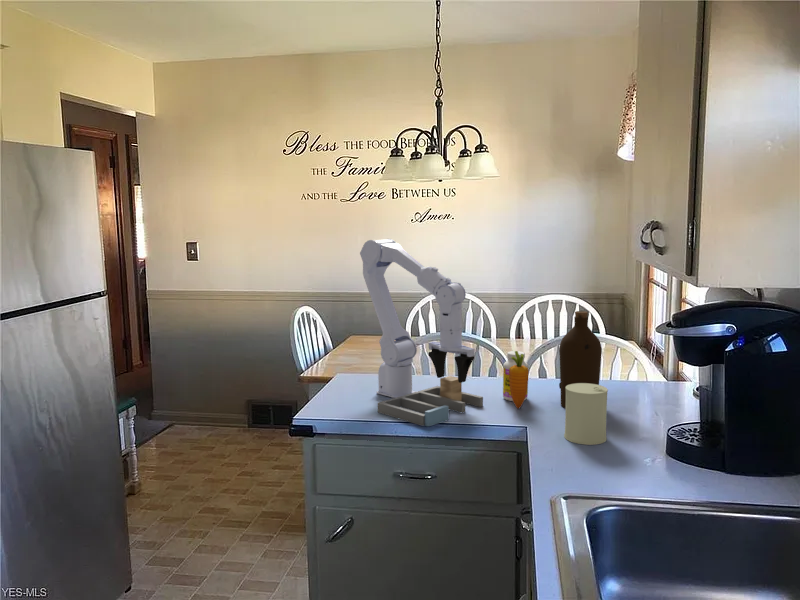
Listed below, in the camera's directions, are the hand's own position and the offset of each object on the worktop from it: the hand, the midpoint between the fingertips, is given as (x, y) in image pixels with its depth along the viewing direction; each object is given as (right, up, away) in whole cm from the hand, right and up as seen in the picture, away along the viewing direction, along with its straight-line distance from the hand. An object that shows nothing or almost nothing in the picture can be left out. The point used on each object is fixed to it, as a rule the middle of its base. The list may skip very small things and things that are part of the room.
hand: (451, 379), depth 175 cm
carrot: (+17, -7, -4) cm, 19 cm away
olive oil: (+33, -7, -2) cm, 34 cm away
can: (+28, -10, -27) cm, 40 cm away
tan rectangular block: (0, -7, +1) cm, 7 cm away
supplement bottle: (+18, -6, +5) cm, 20 cm away
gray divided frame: (-5, -7, -4) cm, 10 cm away
